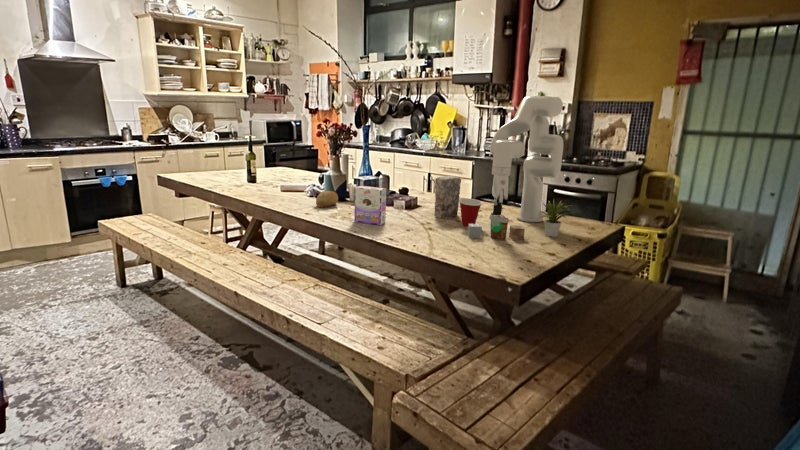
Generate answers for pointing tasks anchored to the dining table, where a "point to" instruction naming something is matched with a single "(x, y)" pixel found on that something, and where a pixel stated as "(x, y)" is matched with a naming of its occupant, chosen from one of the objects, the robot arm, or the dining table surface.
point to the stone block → (447, 196)
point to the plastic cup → (469, 210)
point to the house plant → (553, 218)
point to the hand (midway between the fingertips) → (497, 214)
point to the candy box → (370, 205)
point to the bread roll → (326, 199)
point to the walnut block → (516, 232)
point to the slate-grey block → (474, 230)
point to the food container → (498, 226)
